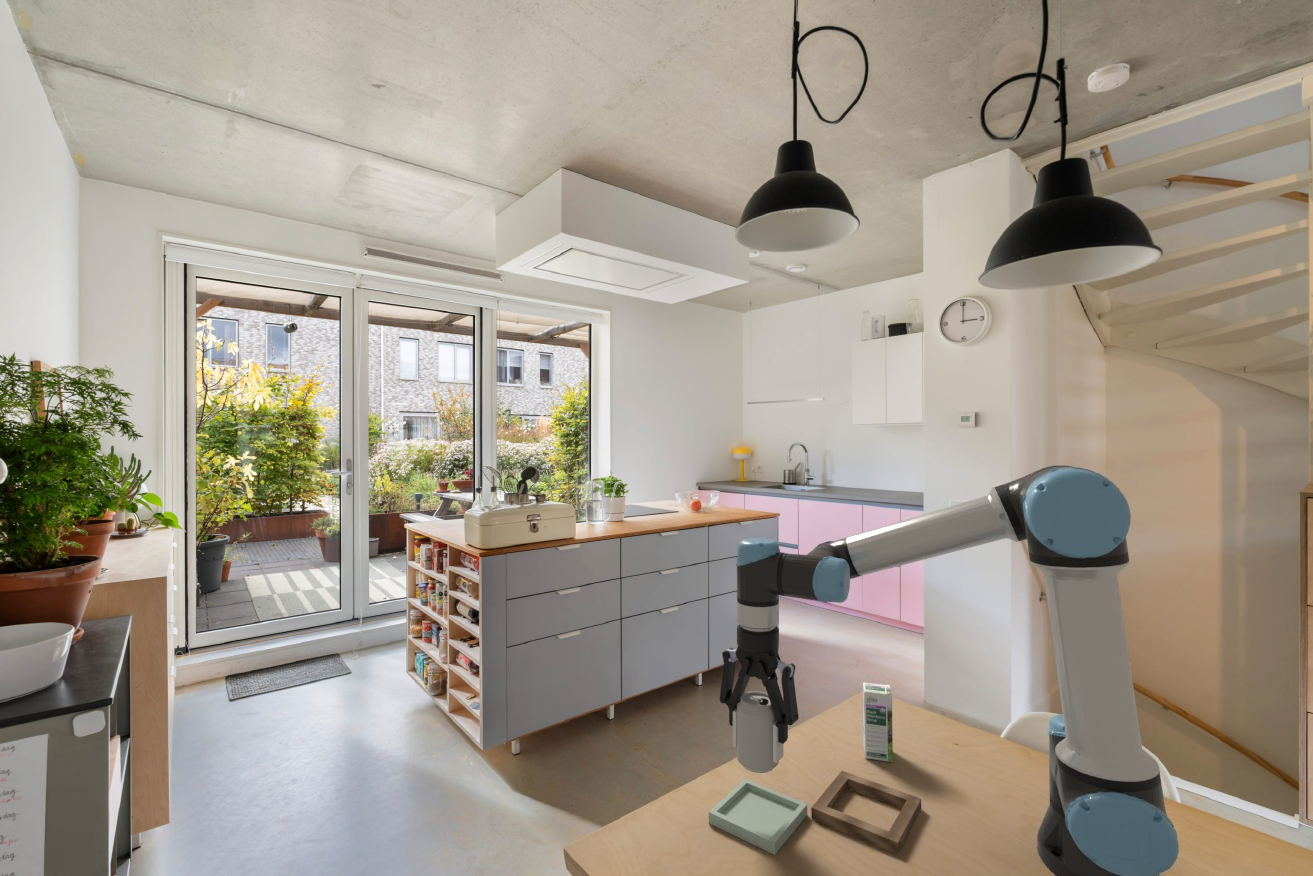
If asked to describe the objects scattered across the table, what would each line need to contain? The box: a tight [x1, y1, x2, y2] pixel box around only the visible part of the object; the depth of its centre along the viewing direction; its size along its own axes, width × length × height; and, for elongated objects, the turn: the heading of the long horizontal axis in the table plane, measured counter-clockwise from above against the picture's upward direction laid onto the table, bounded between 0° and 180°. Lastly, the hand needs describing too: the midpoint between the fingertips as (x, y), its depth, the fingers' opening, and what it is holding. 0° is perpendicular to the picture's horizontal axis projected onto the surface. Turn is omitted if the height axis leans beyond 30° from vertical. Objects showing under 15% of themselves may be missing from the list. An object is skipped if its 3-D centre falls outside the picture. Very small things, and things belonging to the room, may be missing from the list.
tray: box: [708, 778, 808, 856], centre depth 105 cm, size 13×13×2 cm
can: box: [736, 691, 780, 774], centre depth 105 cm, size 8×8×12 cm
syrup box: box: [862, 682, 894, 763], centre depth 127 cm, size 6×6×14 cm
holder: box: [810, 770, 922, 855], centre depth 107 cm, size 15×15×2 cm
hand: (757, 751), depth 105 cm, fingers closed on can, 7 cm apart
